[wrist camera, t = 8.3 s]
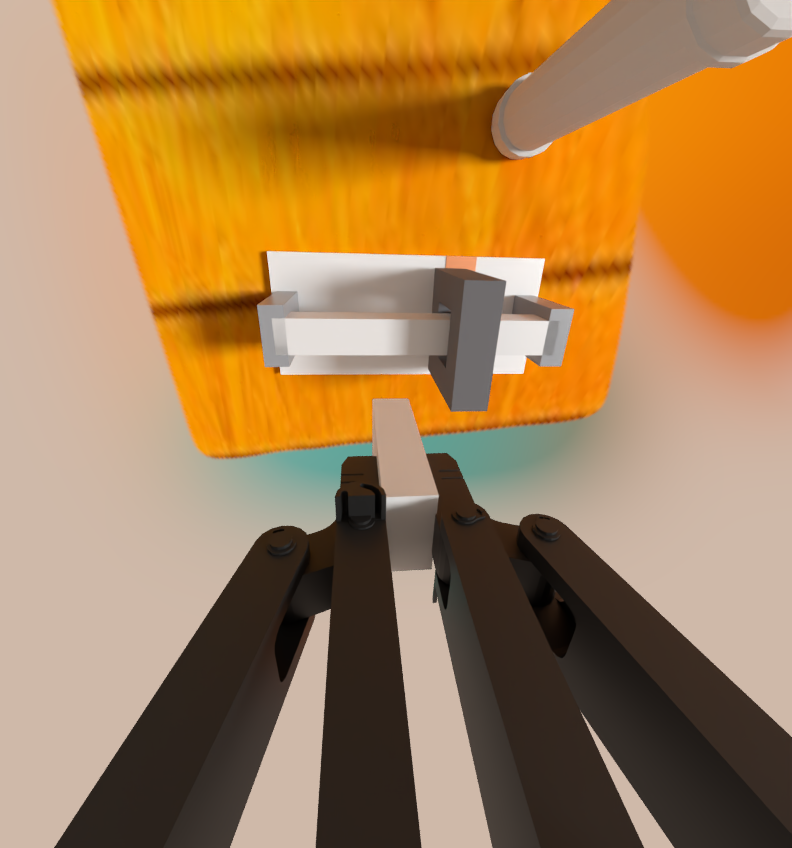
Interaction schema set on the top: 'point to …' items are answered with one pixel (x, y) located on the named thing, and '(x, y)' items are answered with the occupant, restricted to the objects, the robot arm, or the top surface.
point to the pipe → (631, 63)
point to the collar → (467, 336)
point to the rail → (385, 298)
